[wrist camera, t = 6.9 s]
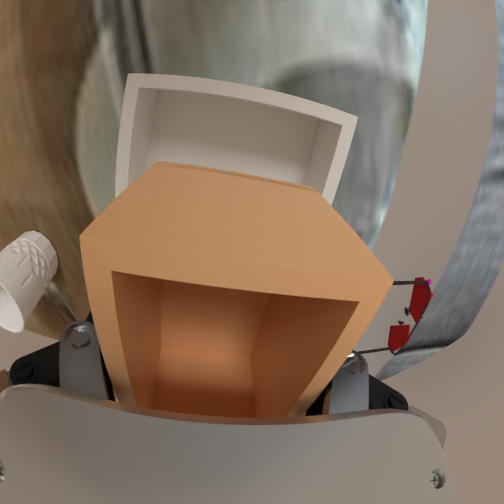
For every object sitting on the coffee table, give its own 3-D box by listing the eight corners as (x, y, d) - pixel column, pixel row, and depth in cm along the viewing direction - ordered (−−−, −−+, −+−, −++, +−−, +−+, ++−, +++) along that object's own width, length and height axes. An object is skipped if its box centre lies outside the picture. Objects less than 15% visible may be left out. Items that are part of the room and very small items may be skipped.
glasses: (387, 338, 39) (399, 360, 35) (294, 347, 37) (301, 374, 33) (422, 268, 32) (441, 290, 28) (317, 267, 30) (330, 295, 26)
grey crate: (151, 79, 19) (128, 73, 13) (329, 112, 21) (358, 116, 16) (135, 256, 27) (118, 291, 22) (280, 277, 30) (291, 314, 25)
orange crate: (157, 160, 9) (79, 235, 4) (314, 187, 10) (394, 280, 5) (152, 344, 14) (135, 441, 9) (257, 356, 15) (269, 451, 10)
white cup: (72, 272, 28) (36, 330, 19) (37, 284, 28) (3, 335, 19) (42, 216, 24) (-9, 264, 15) (9, 236, 24) (-35, 280, 15)
